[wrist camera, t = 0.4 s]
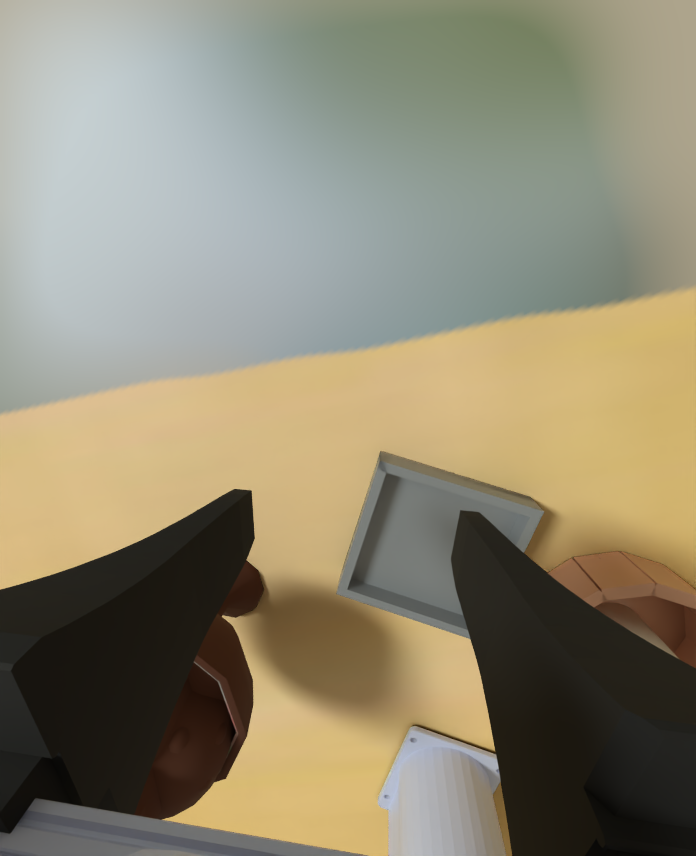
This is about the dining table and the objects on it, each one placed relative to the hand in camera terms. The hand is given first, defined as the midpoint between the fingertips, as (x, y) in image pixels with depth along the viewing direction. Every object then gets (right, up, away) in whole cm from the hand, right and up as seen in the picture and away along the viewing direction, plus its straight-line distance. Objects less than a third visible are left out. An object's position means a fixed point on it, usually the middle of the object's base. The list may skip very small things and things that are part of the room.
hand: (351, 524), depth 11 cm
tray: (+5, -4, +11) cm, 13 cm away
